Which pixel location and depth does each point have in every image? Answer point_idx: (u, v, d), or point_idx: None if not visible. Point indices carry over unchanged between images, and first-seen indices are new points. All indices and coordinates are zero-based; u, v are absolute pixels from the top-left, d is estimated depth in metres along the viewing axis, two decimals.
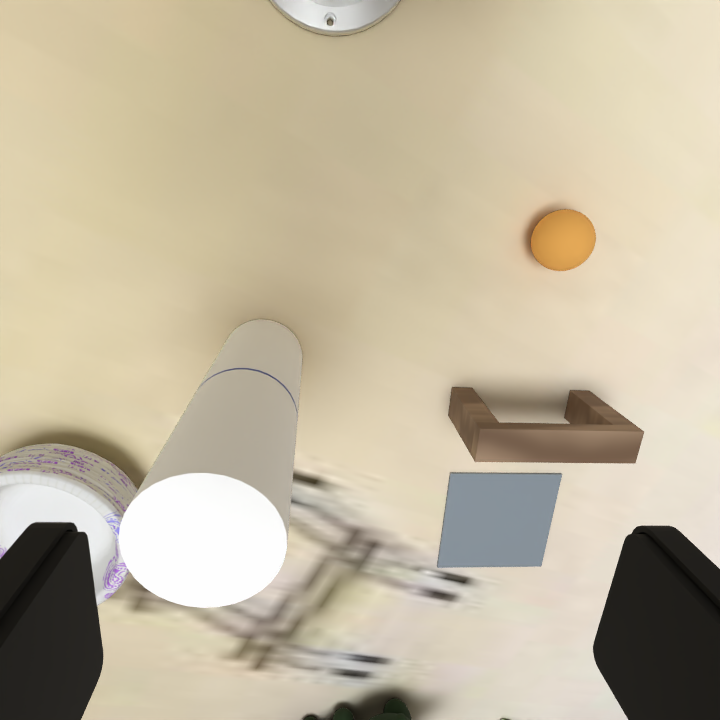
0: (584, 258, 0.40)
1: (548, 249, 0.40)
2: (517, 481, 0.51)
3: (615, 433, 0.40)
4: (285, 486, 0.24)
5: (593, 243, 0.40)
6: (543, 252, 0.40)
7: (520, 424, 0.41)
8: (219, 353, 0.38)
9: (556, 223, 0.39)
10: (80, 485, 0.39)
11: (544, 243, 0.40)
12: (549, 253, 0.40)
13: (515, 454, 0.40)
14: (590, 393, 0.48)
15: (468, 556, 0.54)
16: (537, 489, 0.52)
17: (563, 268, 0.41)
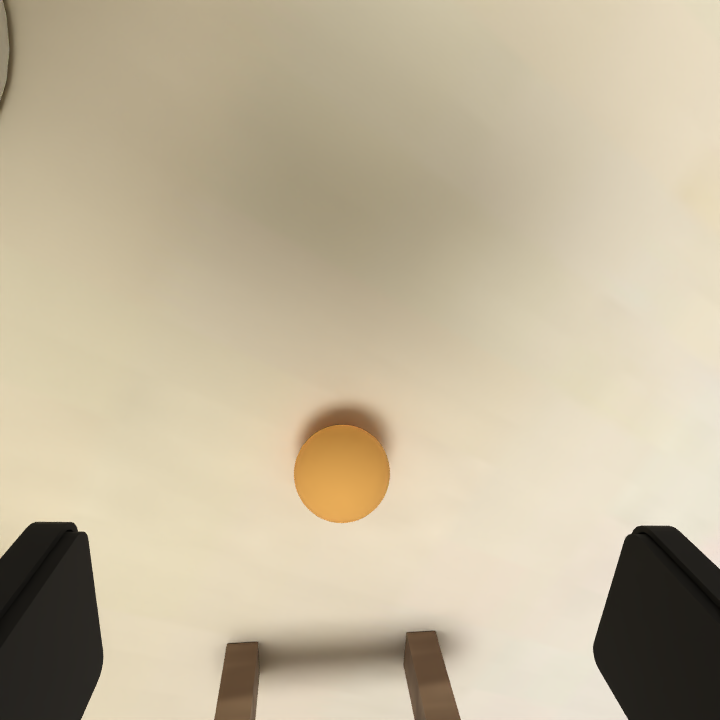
0: (367, 512, 0.25)
1: (307, 502, 0.24)
2: None
3: None
4: None
5: (379, 491, 0.24)
6: (303, 502, 0.25)
7: None
8: None
9: (313, 465, 0.24)
10: None
11: (301, 491, 0.24)
12: (310, 507, 0.24)
13: None
14: (433, 640, 0.33)
15: None
16: None
17: None
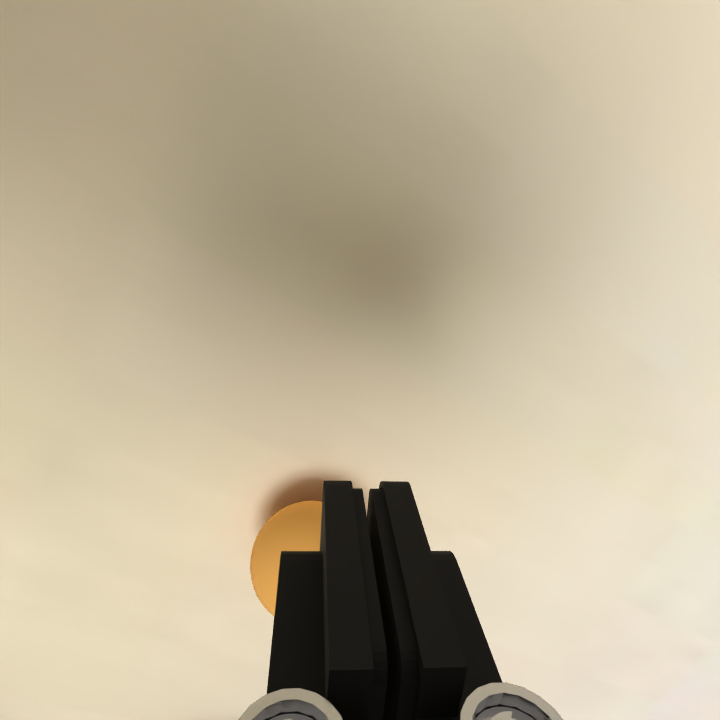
0: None
1: (263, 602, 0.20)
2: None
3: None
4: None
5: None
6: (260, 600, 0.20)
7: None
8: None
9: (271, 559, 0.19)
10: None
11: (256, 589, 0.20)
12: (267, 608, 0.20)
13: None
14: None
15: None
16: None
17: None
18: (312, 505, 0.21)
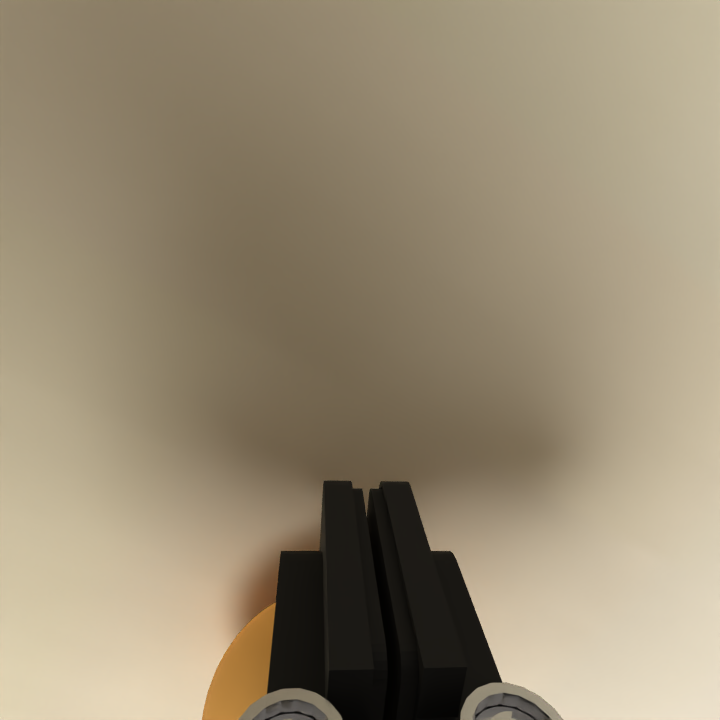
0: None
1: None
2: None
3: None
4: None
5: None
6: None
7: None
8: None
9: None
10: None
11: None
12: None
13: None
14: None
15: None
16: None
17: None
18: None
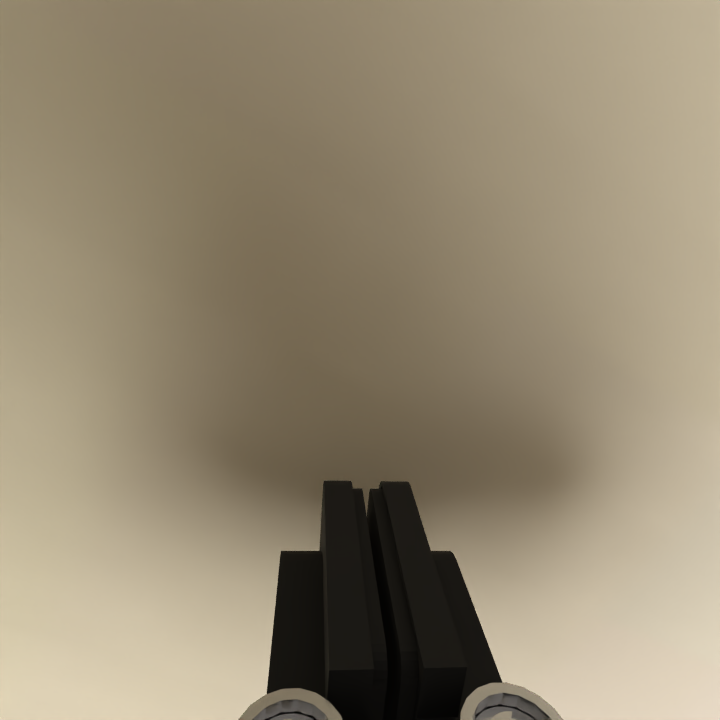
0: None
1: None
2: None
3: None
4: None
5: None
6: None
7: None
8: None
9: None
10: None
11: None
12: None
13: None
14: None
15: None
16: None
17: None
18: None
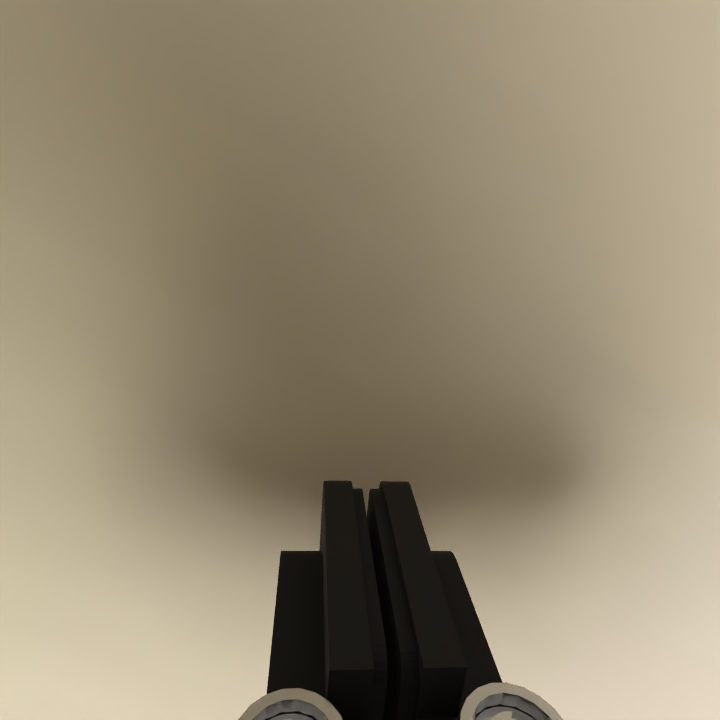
0: None
1: None
2: None
3: None
4: None
5: None
6: None
7: None
8: None
9: None
10: None
11: None
12: None
13: None
14: None
15: None
16: None
17: None
18: None
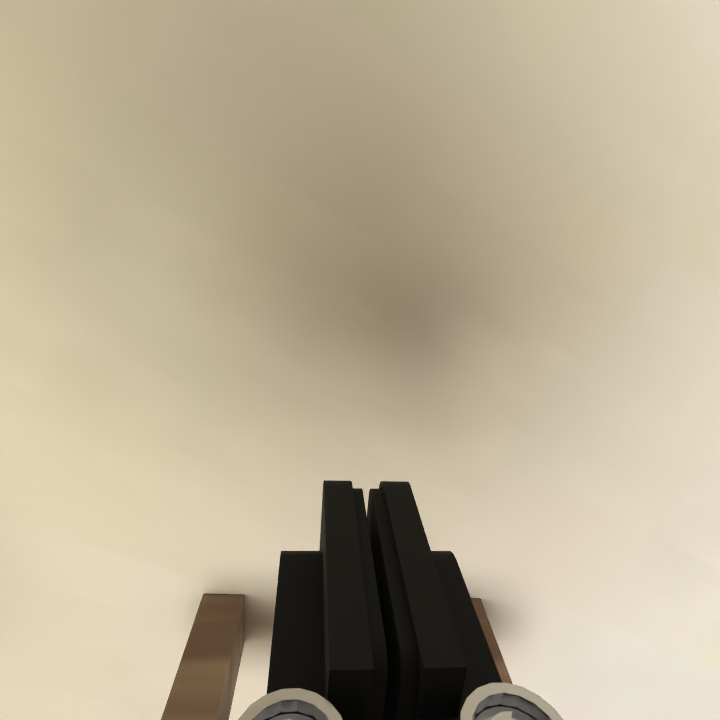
0: None
1: None
2: None
3: None
4: None
5: None
6: None
7: None
8: None
9: None
10: None
11: None
12: None
13: None
14: (479, 609, 0.25)
15: None
16: None
17: None
18: None
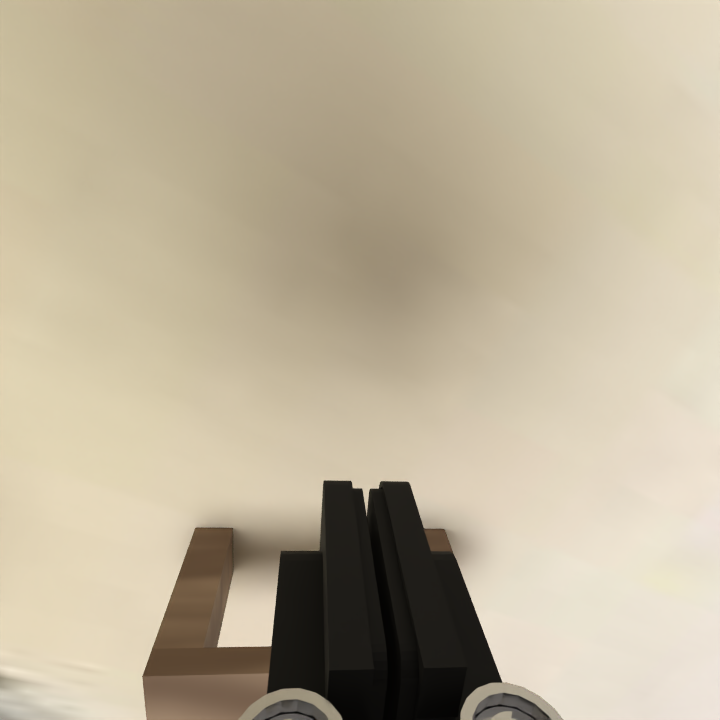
0: None
1: None
2: None
3: None
4: None
5: None
6: None
7: (245, 652, 0.20)
8: None
9: None
10: None
11: None
12: None
13: (232, 715, 0.20)
14: (442, 537, 0.28)
15: None
16: None
17: None
18: None
